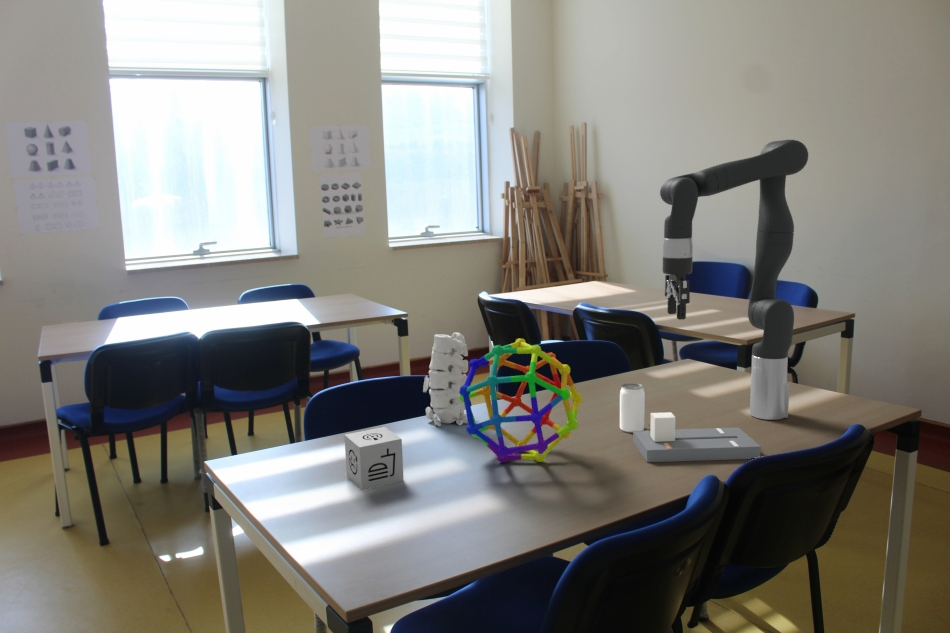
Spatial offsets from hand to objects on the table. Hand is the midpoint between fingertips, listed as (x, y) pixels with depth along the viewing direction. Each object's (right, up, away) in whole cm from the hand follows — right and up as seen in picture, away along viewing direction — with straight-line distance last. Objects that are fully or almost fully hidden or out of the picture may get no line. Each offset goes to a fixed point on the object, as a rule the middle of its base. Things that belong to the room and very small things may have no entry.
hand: (676, 316), depth 193 cm
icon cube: (-76, -37, -26) cm, 89 cm away
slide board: (+1, -33, -14) cm, 36 cm away
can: (-11, -31, +3) cm, 33 cm away
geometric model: (-43, -35, -16) cm, 57 cm away
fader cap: (-7, -30, -14) cm, 34 cm away
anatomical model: (-60, -30, +14) cm, 69 cm away
